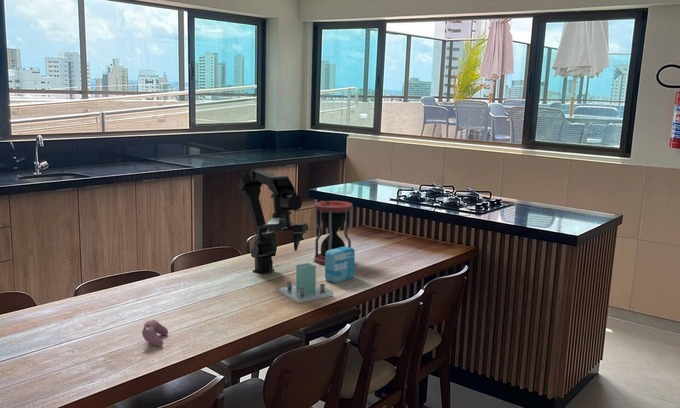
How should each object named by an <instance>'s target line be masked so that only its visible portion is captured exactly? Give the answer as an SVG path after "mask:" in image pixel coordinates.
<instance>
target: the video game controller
mask: <svg viewBox="0 0 680 408" xmlns="http://www.w3.org/2000/svg"><path fill="white" fill-rule="evenodd" d="M141 334H142V336H143V339H144V340H145V341H146V342H148V343H150V344H151V345H153V346H155V347H162V346H163V345H164V341H163V340H162V339H161V338H160V337H159V336H158V335H162V336H167V335H168V334H169V331H168V328H166V326H163V325H162V324H161V323H159V321H157V320H155V319H154V318H153V319H149V320H148V321H145V323H144V324H143V328H142V330H141Z"/></svg>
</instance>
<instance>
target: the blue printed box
mask: <svg viewBox="0 0 680 408" xmlns="http://www.w3.org/2000/svg"><path fill="white" fill-rule="evenodd" d="M355 253H356V252H355V249H354V248H353V247H351V248H349V247H348V246H346V245H345V246H344V247H340V248H336V249H331V250H328V251H327V252H326V253H325V265H324V278H325V281H328V282H331V283H333V284H336V283H339V282H342V281H347V280H349V279H352V278H354V276H355V261H356V260H355V256H356V255H355Z"/></svg>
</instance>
